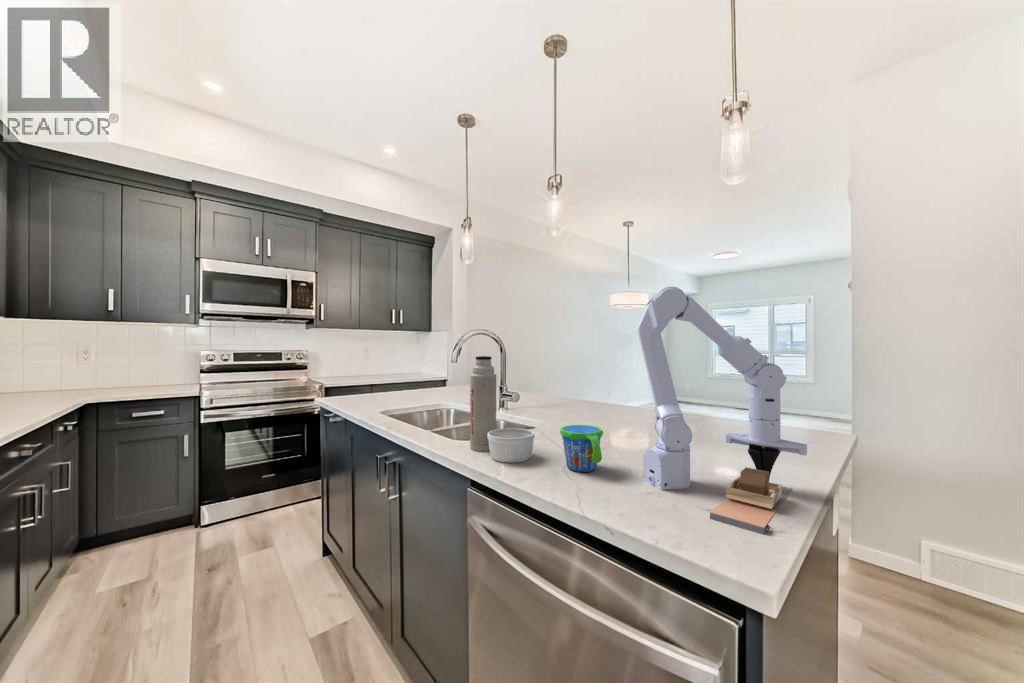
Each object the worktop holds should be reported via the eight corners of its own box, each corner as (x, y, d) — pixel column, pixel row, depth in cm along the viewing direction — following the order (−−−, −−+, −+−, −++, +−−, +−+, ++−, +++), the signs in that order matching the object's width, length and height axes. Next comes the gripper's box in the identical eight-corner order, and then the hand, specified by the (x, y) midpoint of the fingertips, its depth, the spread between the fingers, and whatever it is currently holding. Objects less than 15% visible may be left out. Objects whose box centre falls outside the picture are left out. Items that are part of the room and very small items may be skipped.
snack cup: (552, 460, 107) (552, 423, 107) (588, 458, 109) (588, 421, 109) (573, 480, 91) (573, 436, 92) (614, 477, 94) (614, 434, 94)
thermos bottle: (469, 451, 116) (469, 356, 116) (470, 444, 123) (470, 355, 124) (496, 450, 116) (496, 356, 116) (495, 444, 124) (495, 355, 124)
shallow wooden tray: (771, 511, 72) (771, 498, 72) (726, 499, 77) (726, 487, 77) (782, 497, 78) (782, 485, 78) (739, 487, 83) (739, 476, 83)
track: (763, 534, 66) (763, 528, 66) (709, 518, 72) (709, 512, 72) (792, 493, 83) (792, 488, 83) (747, 483, 89) (747, 478, 89)
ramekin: (512, 448, 119) (512, 425, 119) (544, 457, 110) (544, 432, 110) (478, 457, 110) (478, 432, 110) (509, 468, 101) (509, 441, 101)
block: (764, 497, 75) (764, 476, 75) (740, 491, 78) (740, 471, 78) (769, 491, 78) (768, 471, 78) (746, 486, 81) (746, 467, 81)
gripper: (809, 420, 81) (809, 485, 81) (732, 411, 91) (732, 469, 91) (803, 425, 76) (803, 495, 76) (722, 415, 86) (722, 477, 86)
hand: (764, 482), depth 84 cm, fingers closed
